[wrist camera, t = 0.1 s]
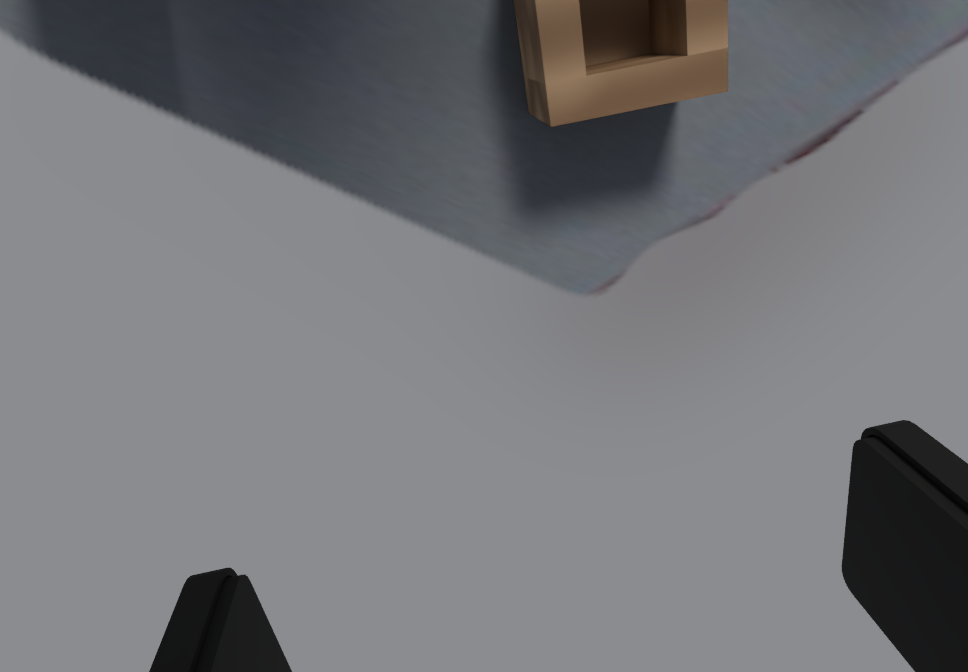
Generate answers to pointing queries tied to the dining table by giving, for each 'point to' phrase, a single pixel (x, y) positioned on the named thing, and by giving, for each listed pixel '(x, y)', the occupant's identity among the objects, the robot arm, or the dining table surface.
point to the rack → (619, 54)
